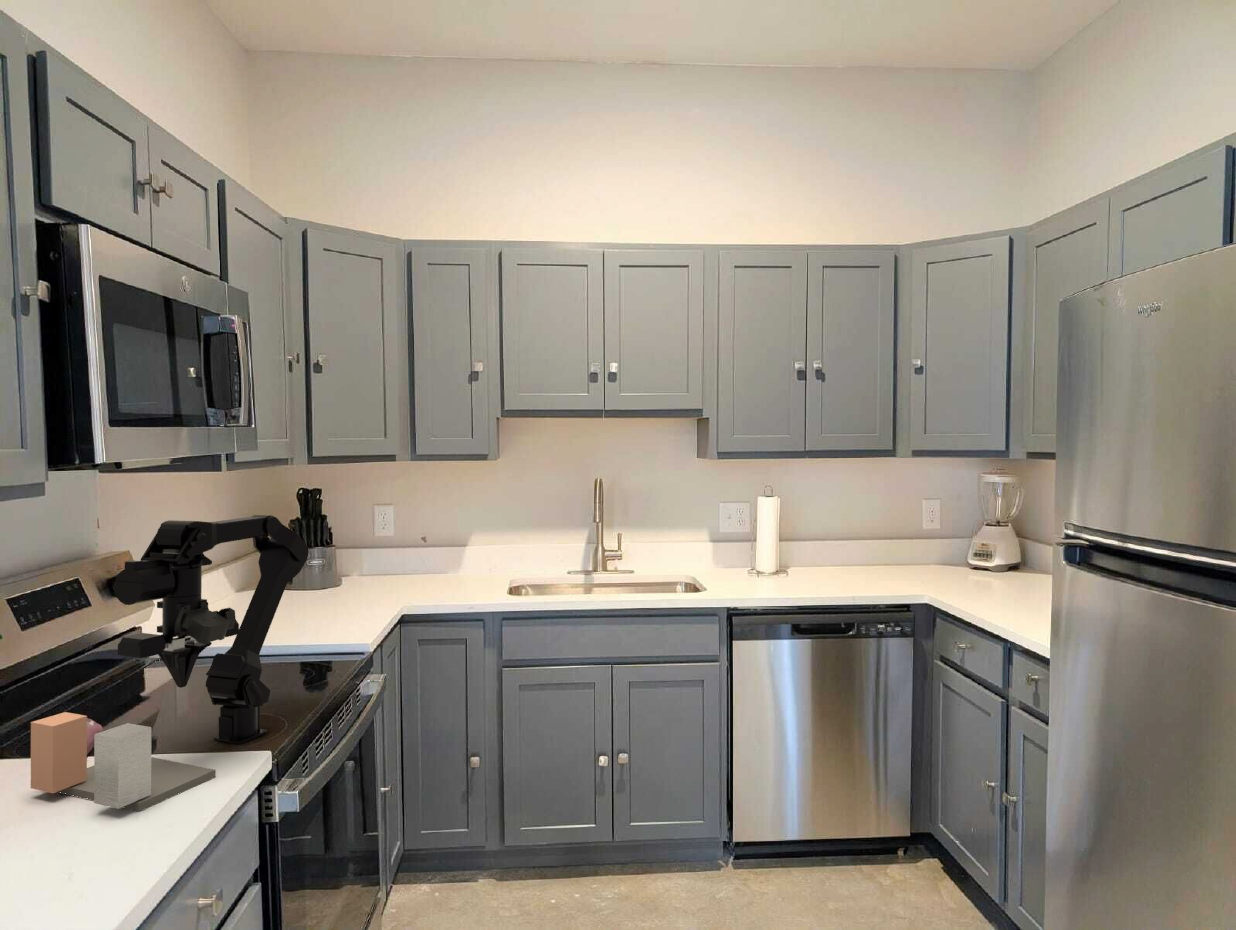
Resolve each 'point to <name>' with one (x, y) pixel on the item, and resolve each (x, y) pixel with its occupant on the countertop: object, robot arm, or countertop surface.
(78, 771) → the peach orange rectangular block
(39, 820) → the countertop surface
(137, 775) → the brushed grey block
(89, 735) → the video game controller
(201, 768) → the thin grey base plate
